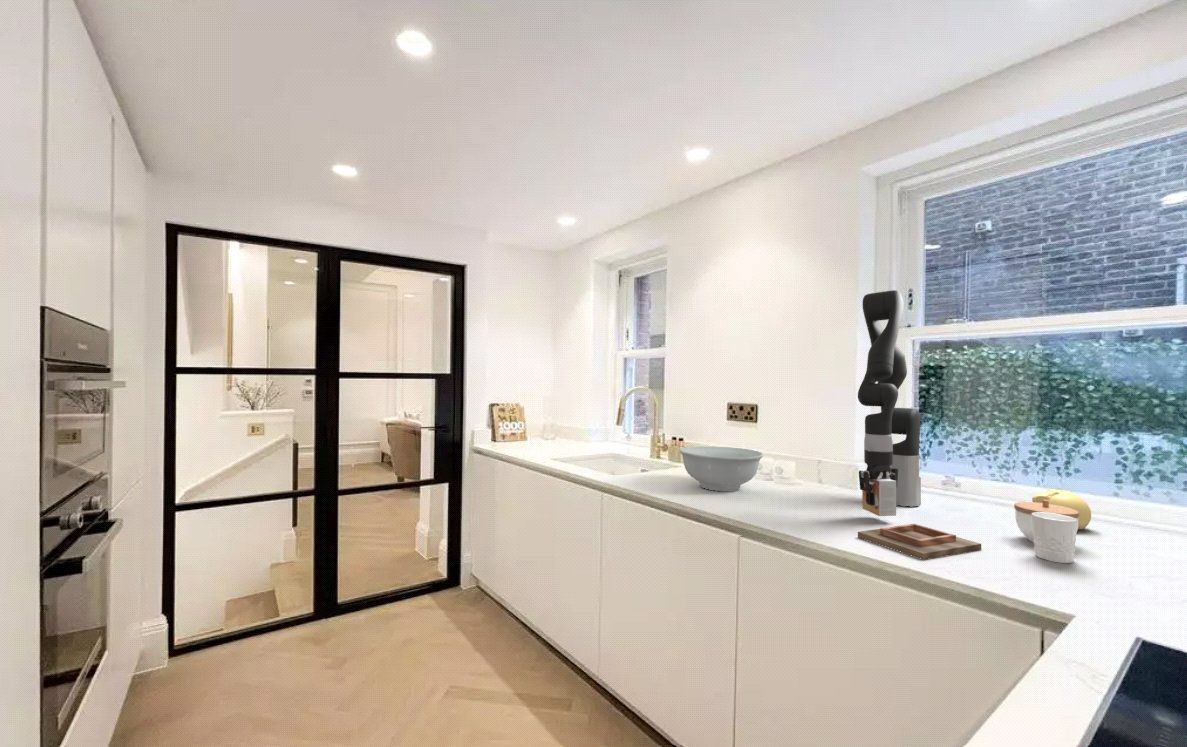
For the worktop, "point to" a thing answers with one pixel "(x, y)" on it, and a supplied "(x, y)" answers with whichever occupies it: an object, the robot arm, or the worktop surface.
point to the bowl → (721, 466)
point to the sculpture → (1067, 504)
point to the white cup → (1054, 536)
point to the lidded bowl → (1027, 508)
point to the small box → (882, 498)
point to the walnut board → (919, 541)
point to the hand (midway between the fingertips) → (878, 503)
